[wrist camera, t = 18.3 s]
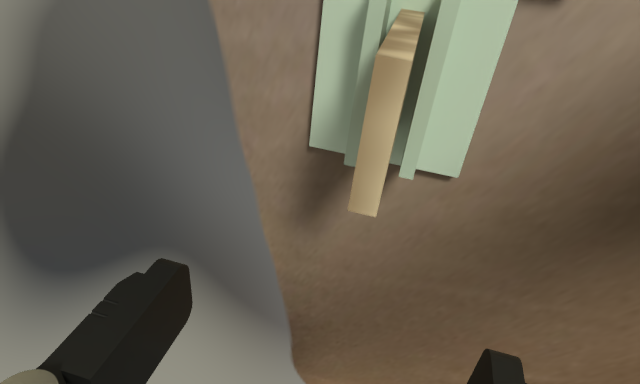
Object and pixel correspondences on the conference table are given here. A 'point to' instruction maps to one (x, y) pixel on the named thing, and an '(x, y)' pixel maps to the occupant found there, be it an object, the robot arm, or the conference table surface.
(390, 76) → the wooden board
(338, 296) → the conference table surface
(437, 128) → the stand
